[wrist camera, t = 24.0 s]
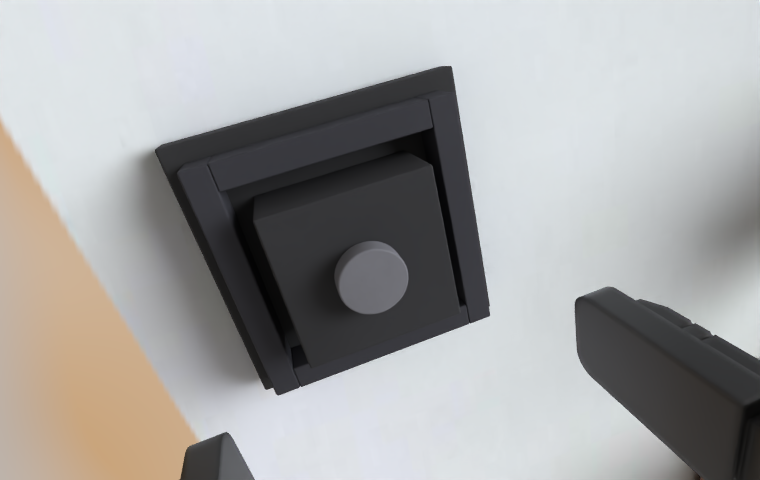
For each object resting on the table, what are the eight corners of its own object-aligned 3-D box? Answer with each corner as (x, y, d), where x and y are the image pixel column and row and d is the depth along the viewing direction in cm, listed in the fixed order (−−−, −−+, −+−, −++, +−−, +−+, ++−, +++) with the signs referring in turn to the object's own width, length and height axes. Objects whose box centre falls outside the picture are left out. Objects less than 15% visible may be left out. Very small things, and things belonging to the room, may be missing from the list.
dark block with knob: (303, 326, 18) (313, 384, 15) (253, 195, 16) (251, 229, 12) (433, 280, 19) (471, 325, 16) (404, 149, 17) (442, 169, 13)
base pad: (265, 376, 20) (266, 415, 18) (159, 145, 15) (142, 158, 13) (481, 297, 21) (507, 323, 19) (442, 65, 17) (470, 64, 15)
